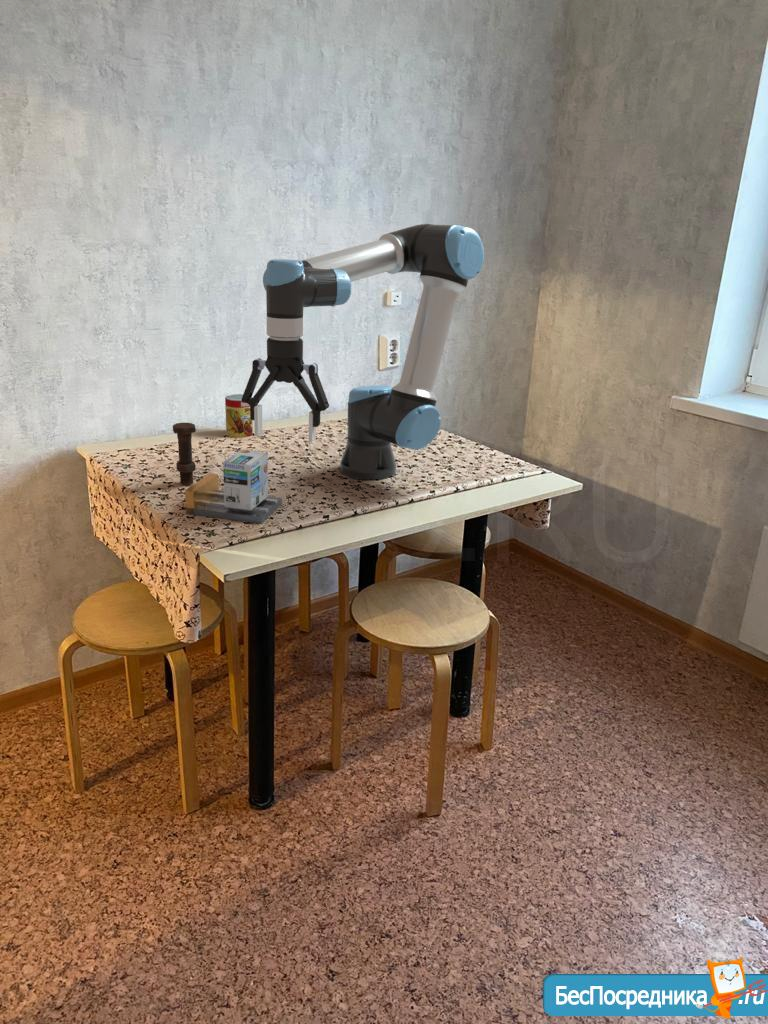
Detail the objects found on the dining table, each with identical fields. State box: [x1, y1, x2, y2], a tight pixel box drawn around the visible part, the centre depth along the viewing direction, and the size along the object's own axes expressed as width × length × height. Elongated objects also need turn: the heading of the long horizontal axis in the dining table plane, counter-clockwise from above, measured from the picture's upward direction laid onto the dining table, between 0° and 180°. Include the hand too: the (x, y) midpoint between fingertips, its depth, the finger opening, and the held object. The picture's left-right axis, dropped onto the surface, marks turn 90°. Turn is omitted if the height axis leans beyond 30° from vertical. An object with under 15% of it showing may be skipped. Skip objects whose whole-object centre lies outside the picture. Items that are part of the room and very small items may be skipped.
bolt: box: [172, 422, 197, 486], centre depth 189 cm, size 6×5×15 cm
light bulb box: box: [222, 448, 269, 510], centre depth 174 cm, size 11×7×11 cm, turn 167°
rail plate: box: [184, 472, 283, 525], centre depth 177 cm, size 18×13×6 cm
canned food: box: [224, 393, 254, 439], centre depth 232 cm, size 8×8×12 cm
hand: (285, 437), depth 169 cm, fingers open, 12 cm apart
